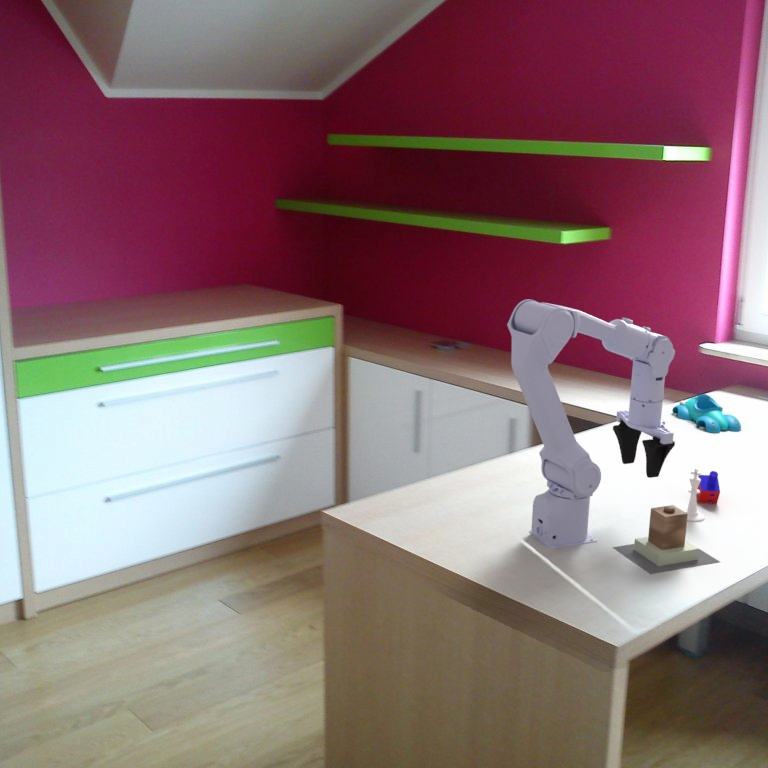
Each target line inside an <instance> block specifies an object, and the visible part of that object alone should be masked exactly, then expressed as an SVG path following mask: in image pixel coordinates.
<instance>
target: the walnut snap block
mask: <svg viewBox="0 0 768 768" xmlns="http://www.w3.org/2000/svg"><path fill="white" fill-rule="evenodd" d="M684 511H685V510H682V509H681V508H679V507H677V506H675V505H673V504H671V505H670V504H669V505H666V506H664V505H663V506H658V507H651V508H650V513H649V514H650V516H649V526H648V535H647V537H648V541H649V542H650V543H652V544H654V545H655V546H657V547H658V548H660V549H661V550H666V549H672V548H679V547H684V546H685V540H686V534H687V524H688V521H687V516H688V513H686V512H684Z"/></svg>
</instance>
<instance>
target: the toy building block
mask: <svg viewBox="0 0 768 768" xmlns="http://www.w3.org/2000/svg"><path fill="white" fill-rule="evenodd" d="M697 477H698V478H700V479H701V482H700V484H699V486H698V488H697V489H698V490H700V493H699V494H696V499H697V502H698V504H699V503H702V504H705V503H706V504H715V505H716V504H718V501H719V498H720V493H721V490H720V483H719V473H718V472H717V471H715V470H711V471H710V472H709V474H701V475H700V476H698V475H697Z"/></svg>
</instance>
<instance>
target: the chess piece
mask: <svg viewBox="0 0 768 768" xmlns="http://www.w3.org/2000/svg"><path fill="white" fill-rule="evenodd" d="M698 471H699V469H698V468H694V470H691V471H690V474H691V475H693V476H691V477H689V483H690V486H691V487H690V488H689V489H688V490H687V491H688V493H690V499H689V501H688V506H687V508H686V509H685V510H683V511H684V512H686V513H688V516H687V522H695V523H698V522H699V523H700V522H703V521H704V520H705V518H706V517H705V515H704V514H703V513H702V512H699V510H698V506H697V504H698V503H697V502H698V501H697V496H696V494H699V493H700V490H698V489H697V488H698V486H699V484H700V482H701V479H700V478H698V476H700V475H702V473H701V472H698Z"/></svg>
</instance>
